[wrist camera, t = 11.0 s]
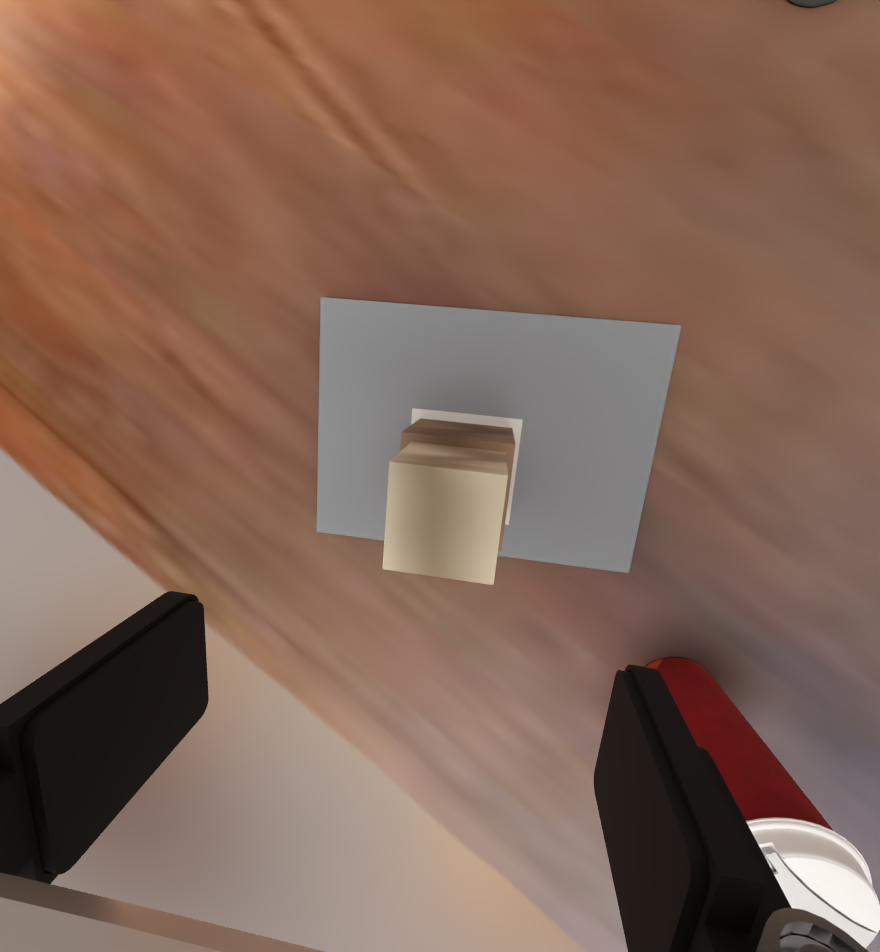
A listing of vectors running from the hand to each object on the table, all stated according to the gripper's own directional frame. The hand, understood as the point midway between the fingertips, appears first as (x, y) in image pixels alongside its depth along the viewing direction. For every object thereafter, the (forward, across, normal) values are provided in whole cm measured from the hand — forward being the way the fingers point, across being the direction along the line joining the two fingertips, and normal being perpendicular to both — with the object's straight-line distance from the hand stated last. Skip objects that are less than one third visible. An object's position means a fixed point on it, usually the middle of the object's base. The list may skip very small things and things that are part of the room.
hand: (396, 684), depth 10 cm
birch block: (+15, 0, 0) cm, 15 cm away
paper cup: (+22, -16, +15) cm, 31 cm away
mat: (+22, 0, -2) cm, 22 cm away
